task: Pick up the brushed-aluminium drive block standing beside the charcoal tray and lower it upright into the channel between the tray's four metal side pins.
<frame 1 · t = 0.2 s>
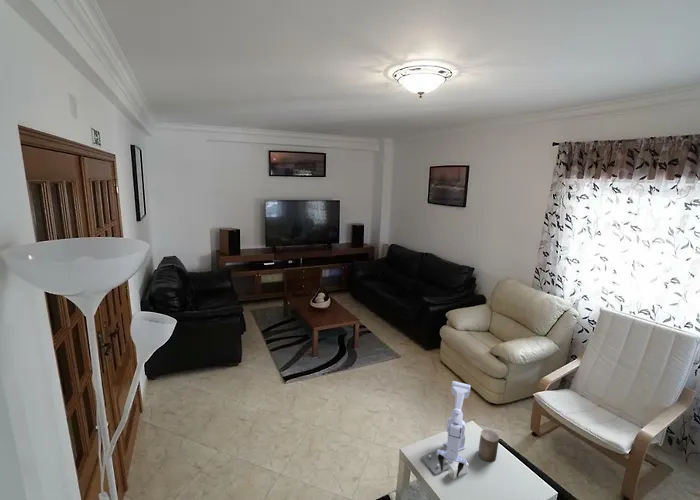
hand: (449, 472, 175), 10 cm above the table, fingers open, 7 cm apart
pin tray: (437, 462, 194), on the table
pillar candle: (486, 455, 200), on the table
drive: (457, 473, 187), on the table
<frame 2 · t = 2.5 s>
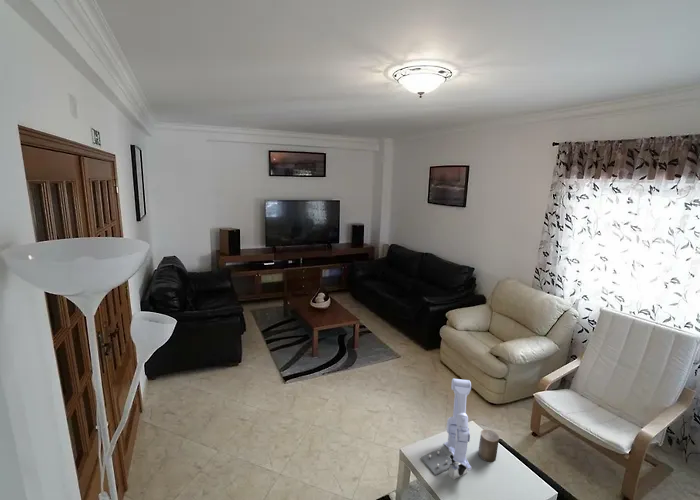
hand: (457, 471, 187), 1 cm above the table, fingers closed on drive, 4 cm apart
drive: (457, 473, 187), on the table, touching gripper
everything else where it was.
when the fingers open (3 cm above the table, at t = 7.0 s): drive stays where it is, resting on pin tray.
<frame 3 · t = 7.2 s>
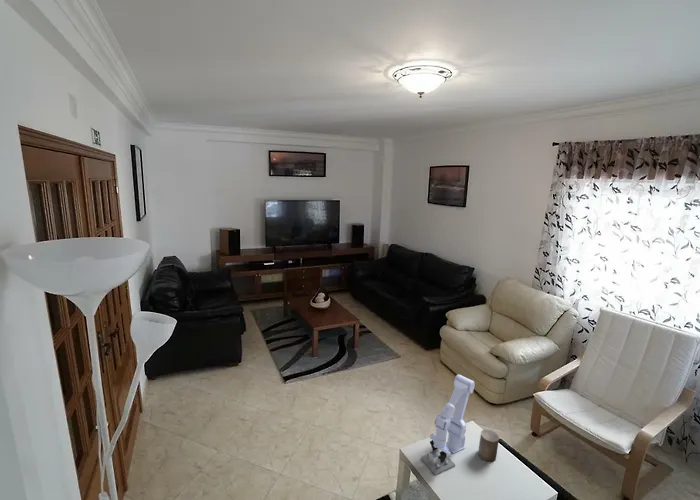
hand: (438, 457, 193), 3 cm above the table, fingers open, 6 cm apart
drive: (438, 460, 194), point 1 cm above the table, touching pin tray
everything else where it was.
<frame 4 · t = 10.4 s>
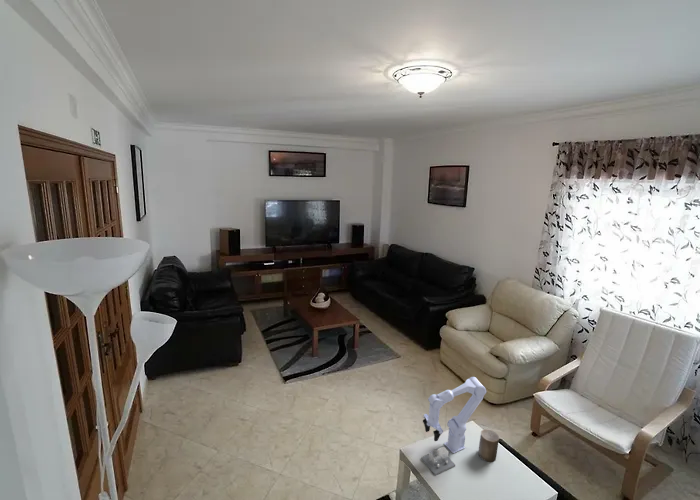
hand: (431, 435, 200), 9 cm above the table, fingers open, 7 cm apart
nothing on the table moved.
at the end: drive 0.0 cm off-centre on the pin tray, point 1.0 cm above the pin tray's base; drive tilted 0°; the gripper is holding nothing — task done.
